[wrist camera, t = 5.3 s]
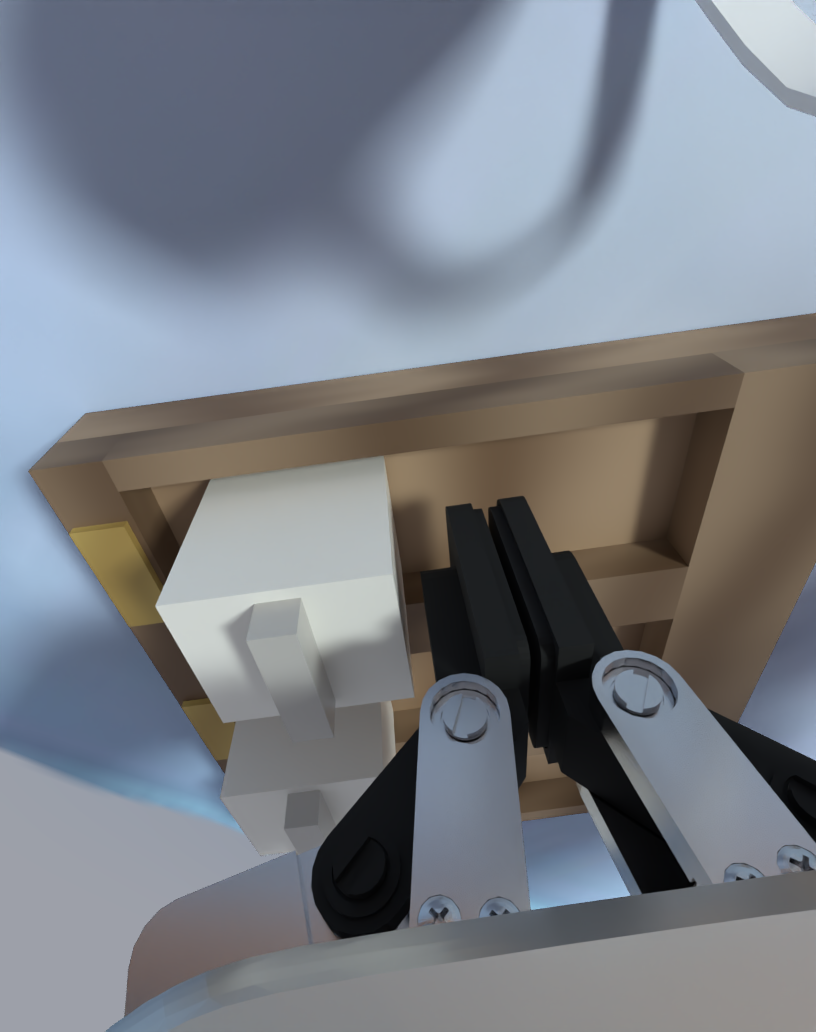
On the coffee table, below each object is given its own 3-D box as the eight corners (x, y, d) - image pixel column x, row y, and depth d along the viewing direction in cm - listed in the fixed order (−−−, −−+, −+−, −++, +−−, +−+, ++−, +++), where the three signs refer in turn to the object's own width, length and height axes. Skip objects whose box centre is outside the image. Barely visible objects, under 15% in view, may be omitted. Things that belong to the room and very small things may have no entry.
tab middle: (378, 645, 16) (384, 810, 12) (393, 710, 18) (402, 870, 14) (248, 662, 16) (212, 833, 12) (278, 726, 18) (255, 889, 14)
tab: (383, 455, 12) (395, 609, 8) (401, 567, 14) (417, 733, 10) (210, 478, 12) (138, 644, 8) (254, 587, 14) (214, 760, 10)
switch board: (821, 312, 12) (928, 351, 10) (670, 737, 24) (704, 802, 21) (85, 413, 13) (22, 476, 10) (284, 788, 24) (275, 859, 21)
